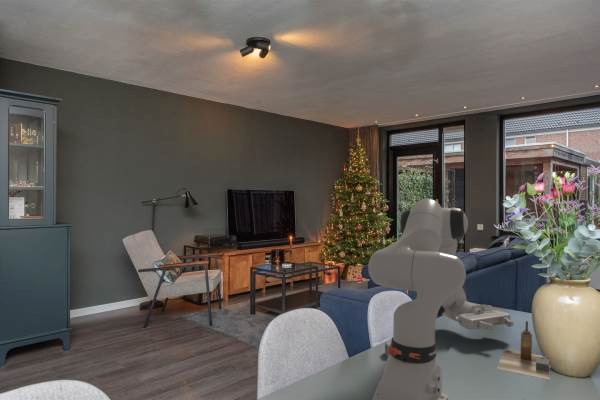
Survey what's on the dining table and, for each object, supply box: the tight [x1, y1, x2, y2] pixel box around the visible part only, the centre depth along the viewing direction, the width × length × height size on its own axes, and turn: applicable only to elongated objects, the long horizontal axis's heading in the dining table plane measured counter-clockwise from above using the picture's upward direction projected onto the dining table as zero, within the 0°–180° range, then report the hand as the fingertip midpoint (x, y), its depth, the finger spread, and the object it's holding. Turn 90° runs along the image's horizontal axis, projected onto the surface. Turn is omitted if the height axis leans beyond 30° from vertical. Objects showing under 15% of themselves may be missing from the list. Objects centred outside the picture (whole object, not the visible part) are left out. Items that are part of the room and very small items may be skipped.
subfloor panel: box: [496, 348, 551, 381], centre depth 135 cm, size 20×14×1 cm
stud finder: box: [536, 355, 550, 372], centre depth 132 cm, size 6×4×2 cm, turn 149°
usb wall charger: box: [384, 341, 391, 358], centre depth 143 cm, size 4×7×4 cm, turn 91°
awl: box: [520, 320, 533, 359], centre depth 140 cm, size 3×3×12 cm
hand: (502, 326), depth 149 cm, fingers open, 8 cm apart
